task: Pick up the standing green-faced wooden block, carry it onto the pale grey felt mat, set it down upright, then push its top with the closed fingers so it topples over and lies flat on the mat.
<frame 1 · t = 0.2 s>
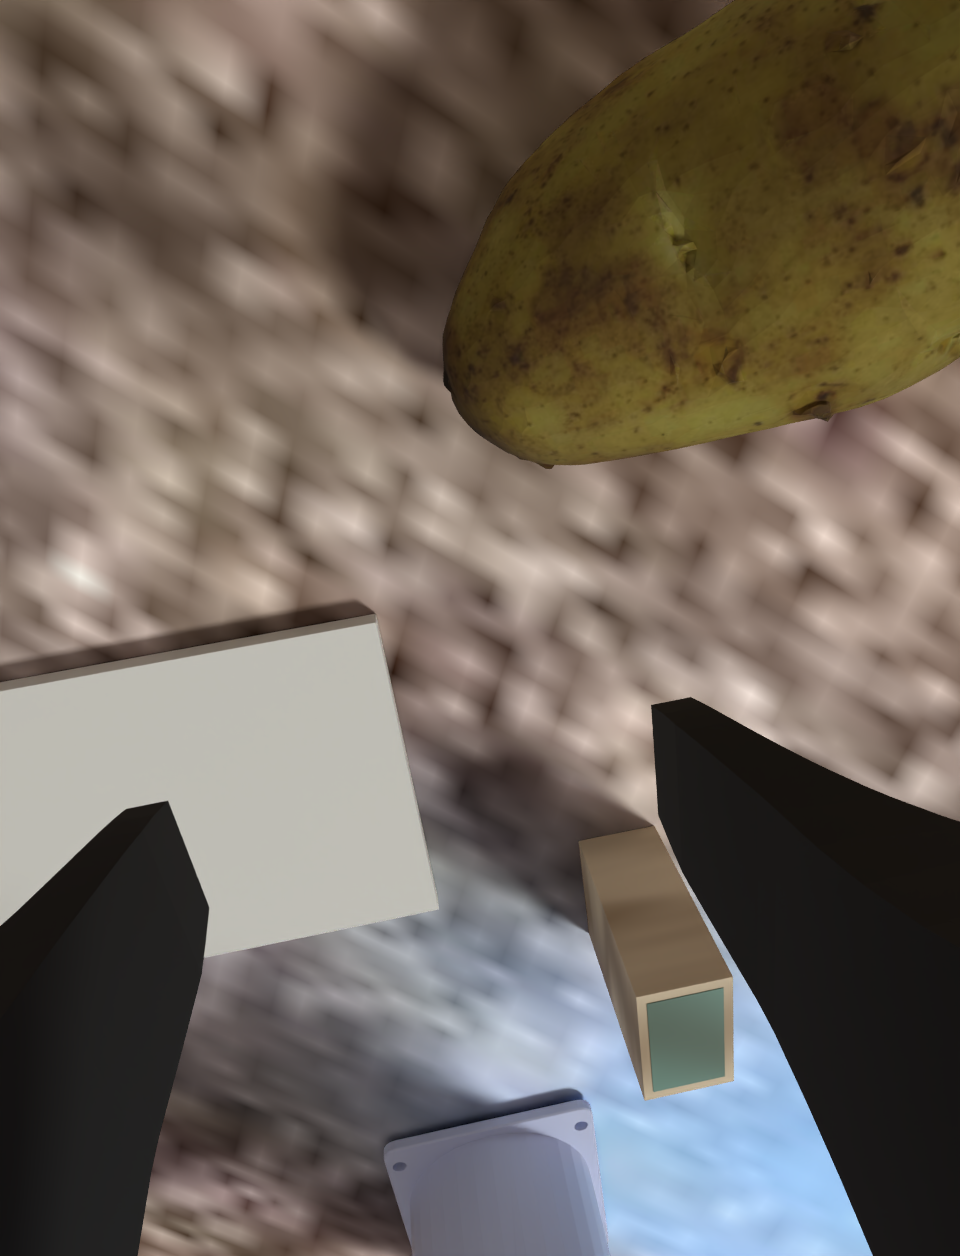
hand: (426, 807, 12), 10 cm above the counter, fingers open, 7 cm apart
potato: (688, 230, 18), on the counter
mat: (170, 814, 22), on the counter
green-faced wooden block: (620, 880, 26), on the counter
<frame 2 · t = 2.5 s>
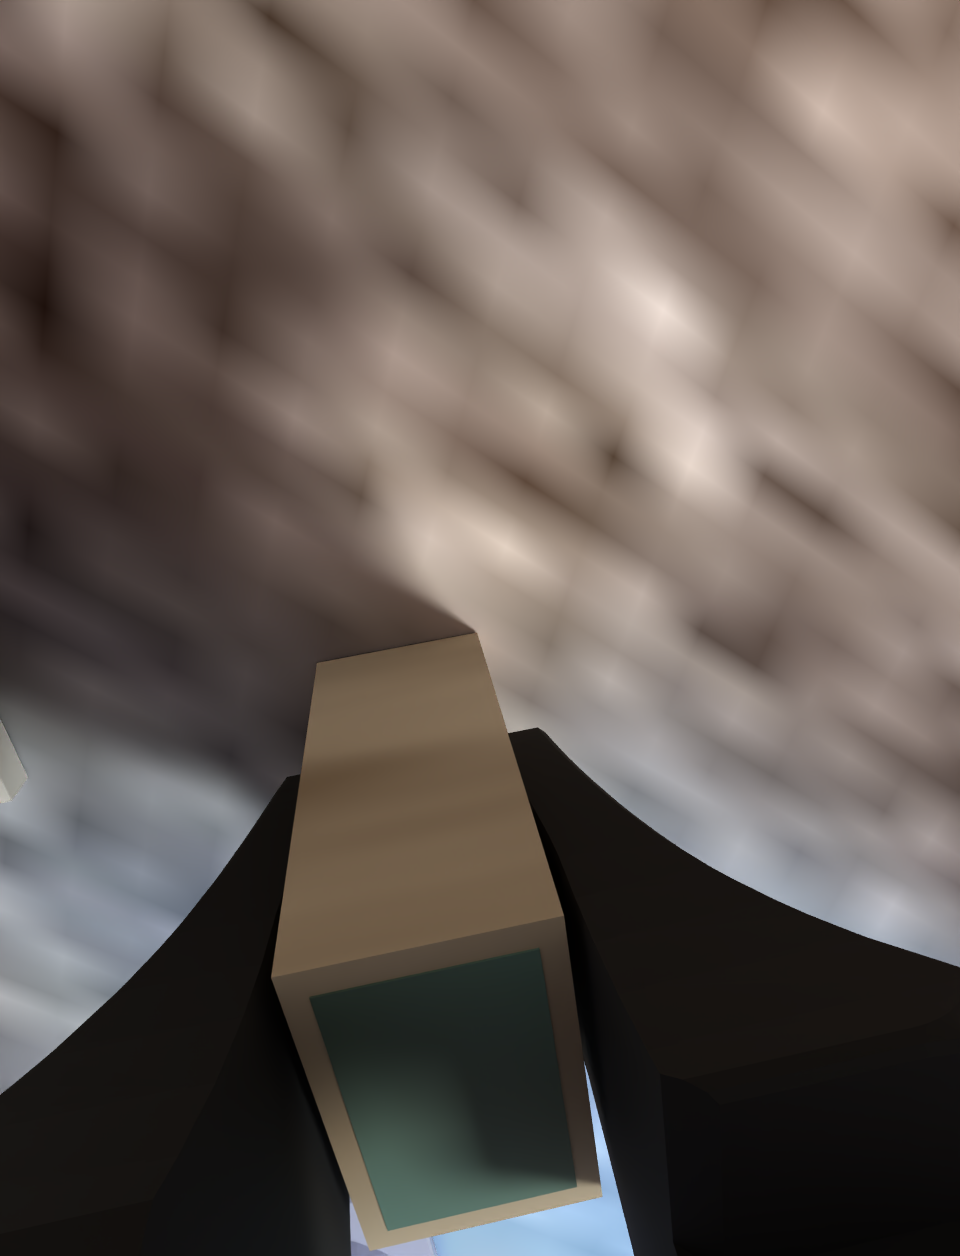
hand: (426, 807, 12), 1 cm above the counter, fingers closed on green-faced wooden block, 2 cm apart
green-faced wooden block: (420, 755, 13), on the counter, touching gripper
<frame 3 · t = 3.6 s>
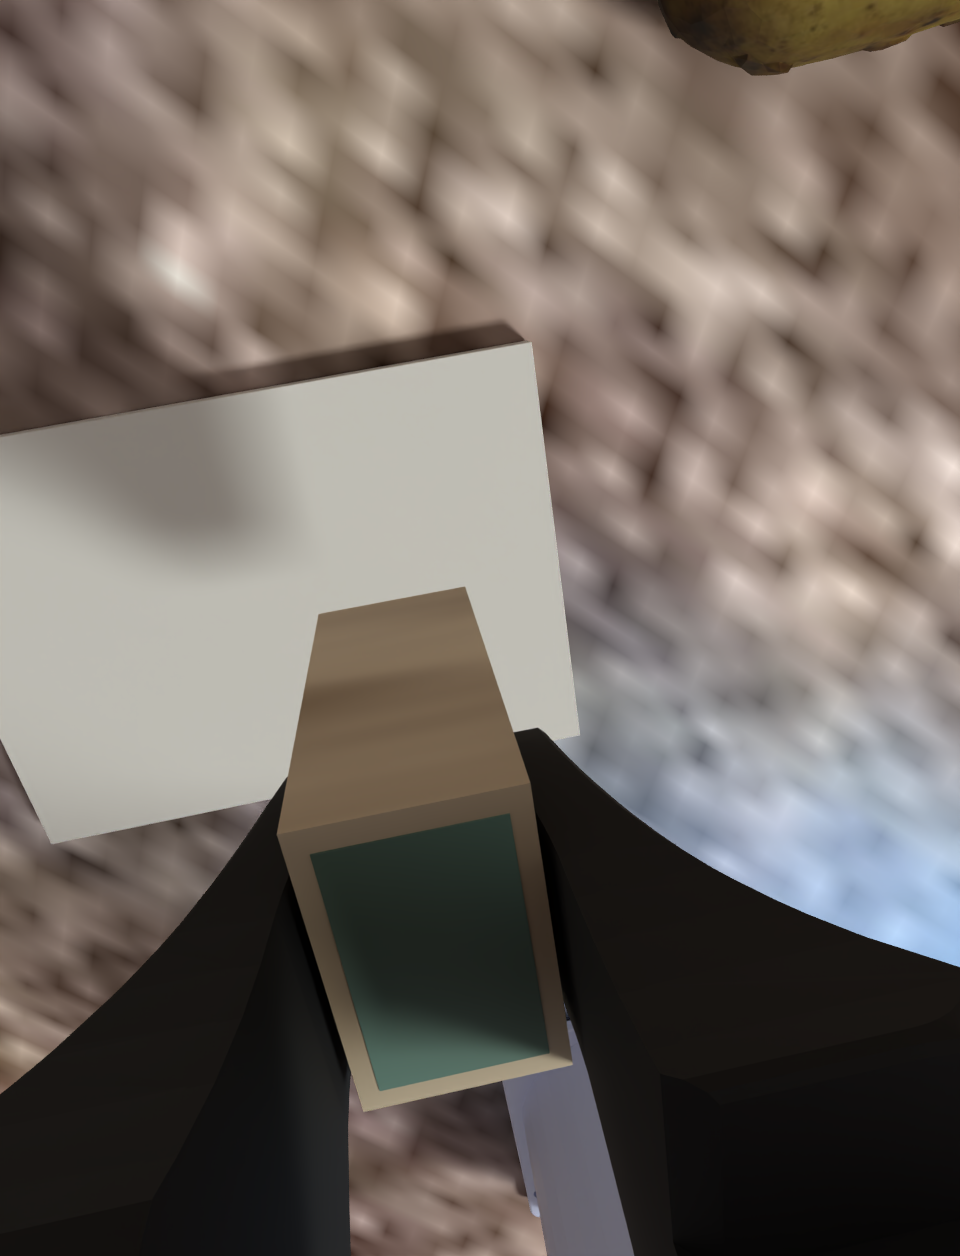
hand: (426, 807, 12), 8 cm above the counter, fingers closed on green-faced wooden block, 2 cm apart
mat: (272, 606, 19), on the counter
green-faced wooden block: (414, 703, 14), point 6 cm above the counter, touching gripper
when the fingers open (3 cm above the counter, at t = 5.1 s): green-faced wooden block stays where it is, resting on mat.
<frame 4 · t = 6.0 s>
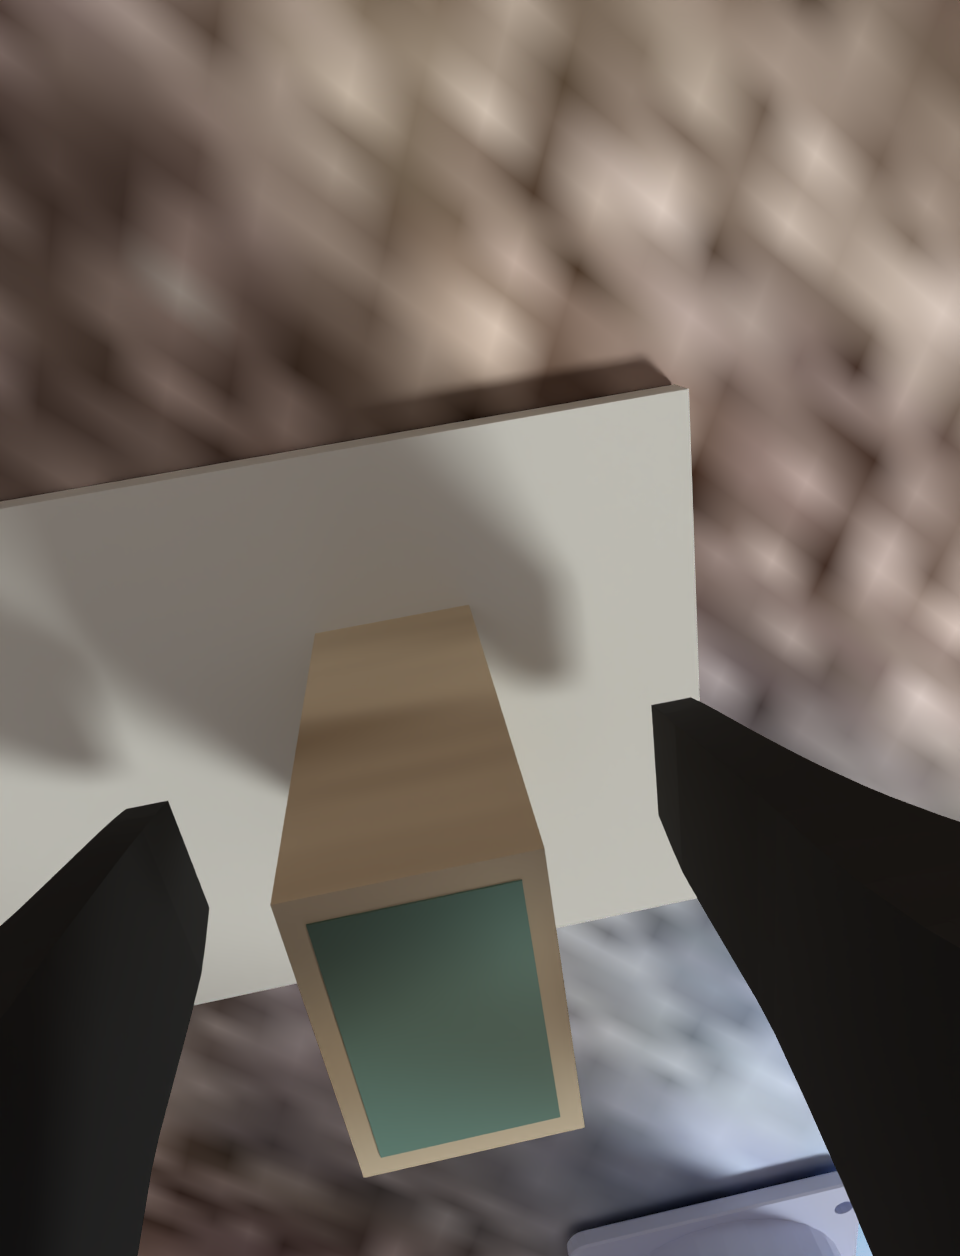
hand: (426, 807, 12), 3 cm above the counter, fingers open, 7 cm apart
mat: (305, 740, 14), on the counter
green-faced wooden block: (414, 724, 13), point 1 cm above the counter, touching mat
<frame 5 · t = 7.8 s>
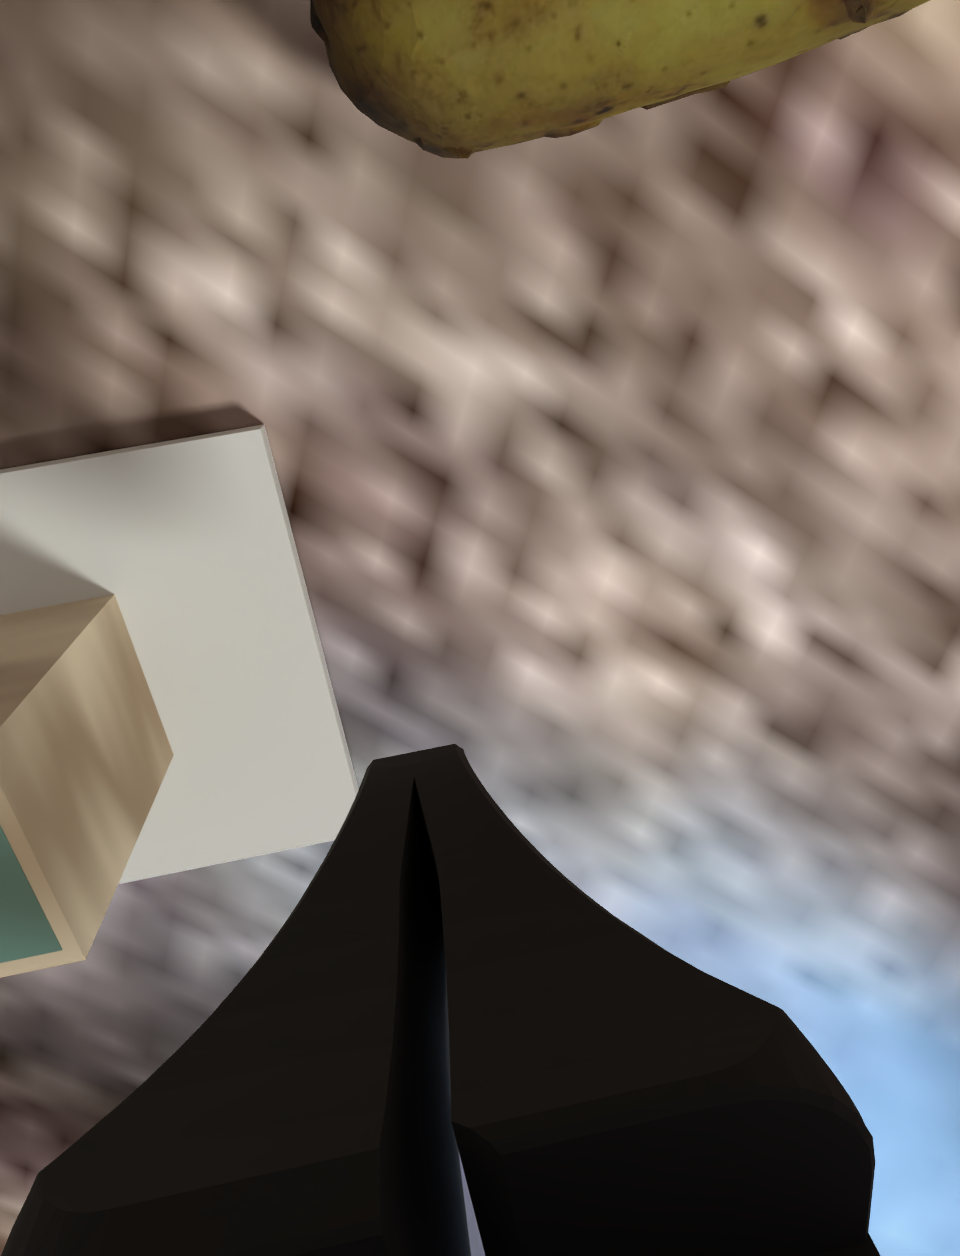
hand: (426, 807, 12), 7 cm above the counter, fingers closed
mat: (10, 702, 17), on the counter
green-faced wooden block: (87, 689, 17), point 1 cm above the counter, touching mat
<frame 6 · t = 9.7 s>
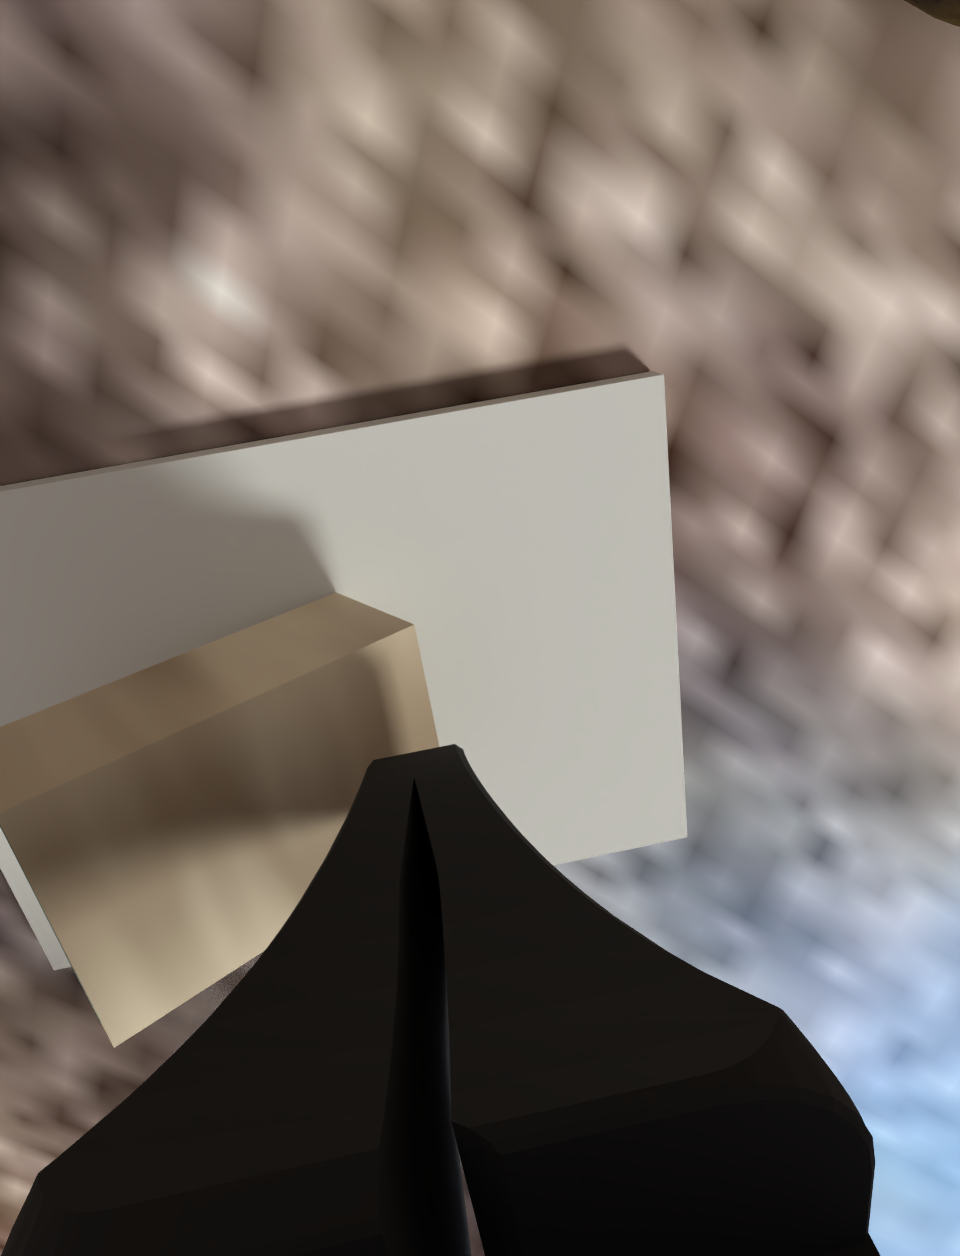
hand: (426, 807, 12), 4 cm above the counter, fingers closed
mat: (326, 691, 15), on the counter
green-faced wooden block: (395, 708, 14), point 2 cm above the counter, tilted 58°, touching mat
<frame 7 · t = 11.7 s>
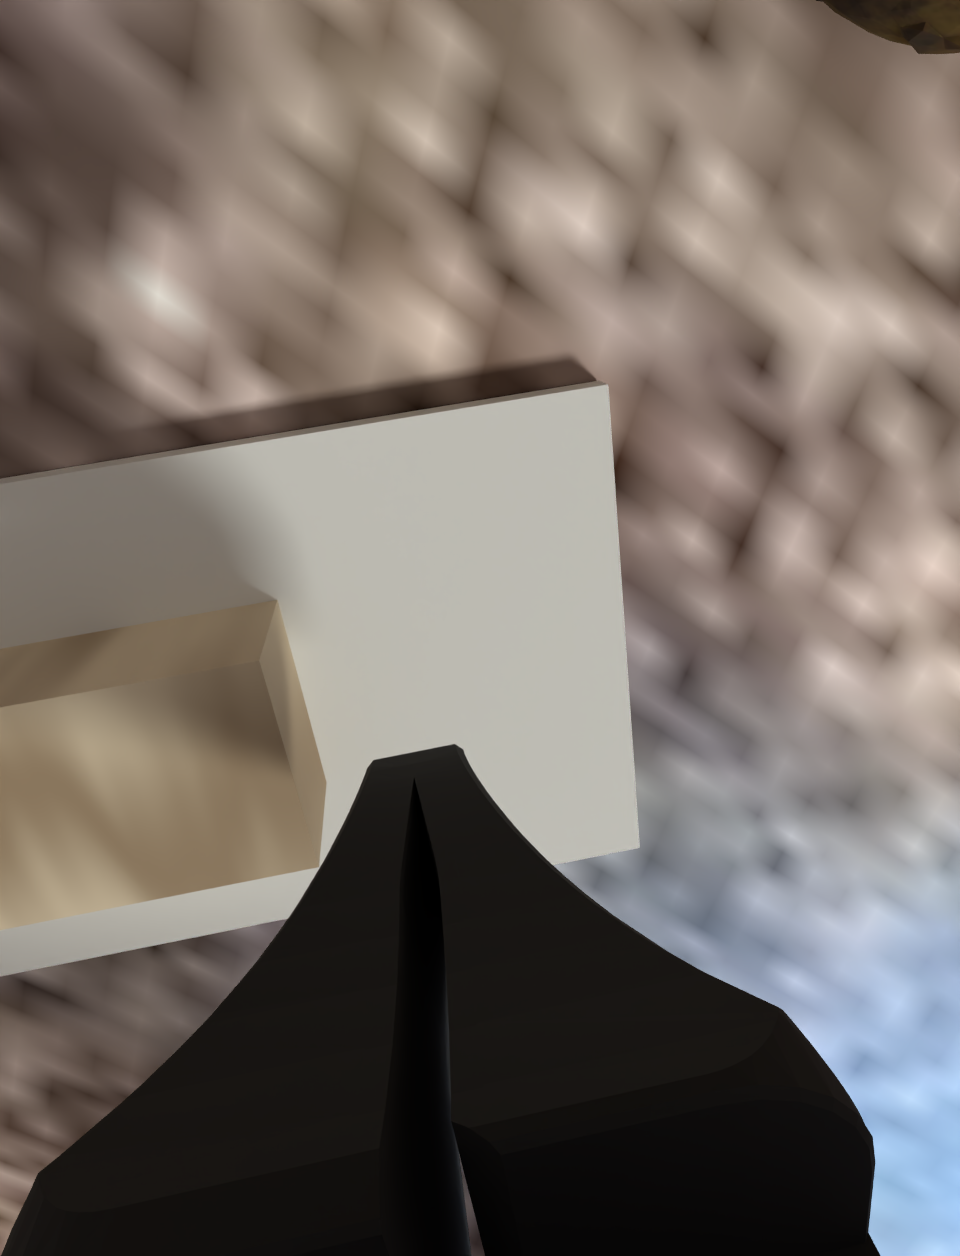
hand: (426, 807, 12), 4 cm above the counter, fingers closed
mat: (272, 698, 15), on the counter
green-faced wooden block: (297, 730, 14), point 2 cm above the counter, tilted 90°, touching mat
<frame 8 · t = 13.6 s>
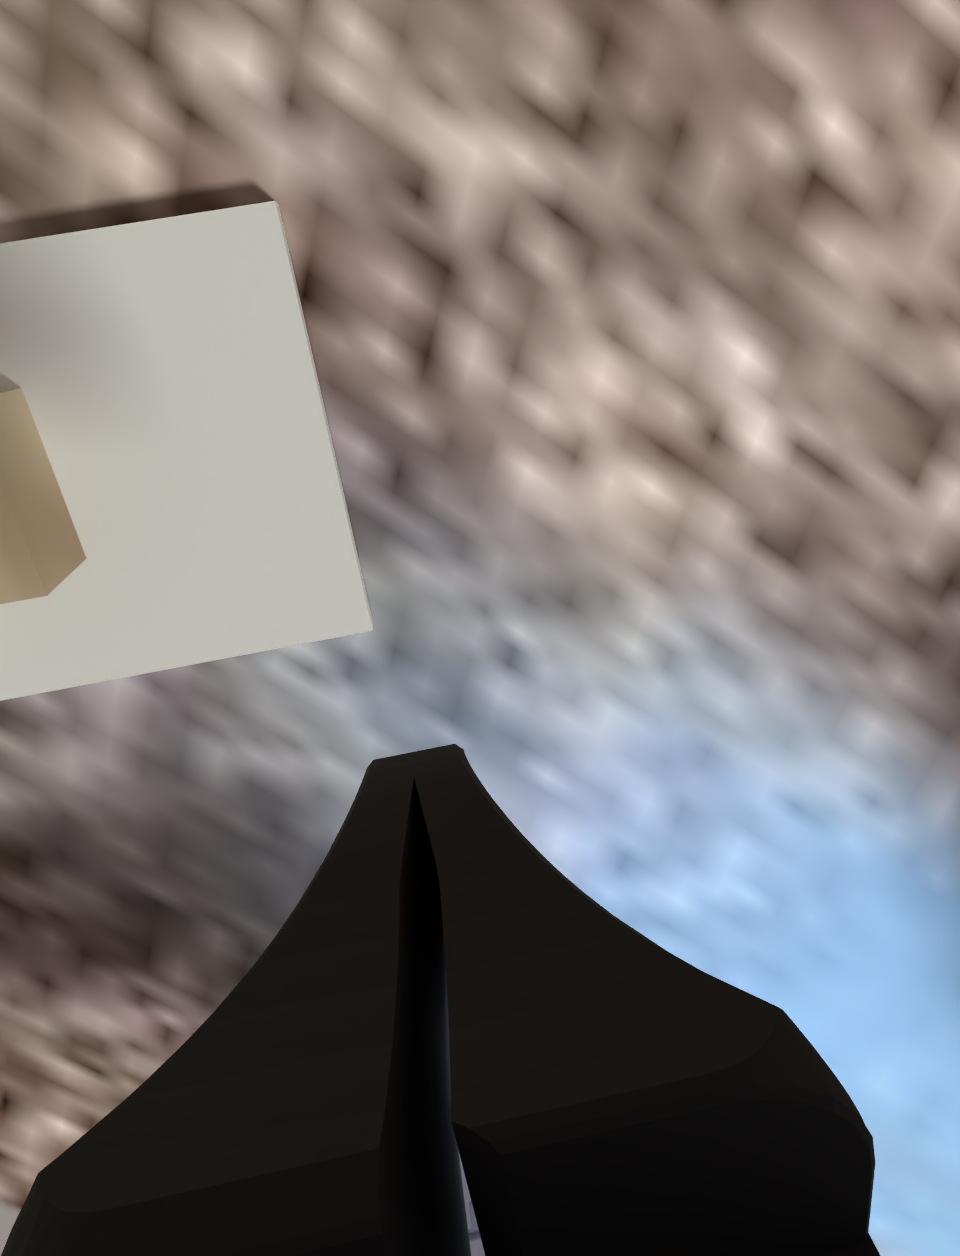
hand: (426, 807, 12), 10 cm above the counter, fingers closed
mat: (38, 486, 18), on the counter
green-faced wooden block: (33, 489, 17), point 2 cm above the counter, tilted 90°, touching mat
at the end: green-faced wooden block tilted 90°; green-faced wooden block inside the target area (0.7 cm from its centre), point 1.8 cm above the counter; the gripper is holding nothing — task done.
